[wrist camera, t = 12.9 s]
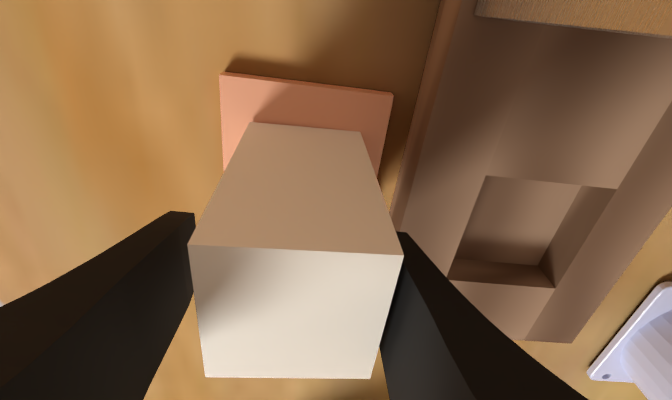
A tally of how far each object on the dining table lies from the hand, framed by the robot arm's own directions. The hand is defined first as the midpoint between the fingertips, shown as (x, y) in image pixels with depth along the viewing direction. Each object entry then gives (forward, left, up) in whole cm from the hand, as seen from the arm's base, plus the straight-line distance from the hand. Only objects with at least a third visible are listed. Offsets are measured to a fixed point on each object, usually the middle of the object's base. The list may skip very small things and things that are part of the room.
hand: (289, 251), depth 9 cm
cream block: (0, 0, -4) cm, 5 cm away
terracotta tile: (0, 0, -5) cm, 5 cm away
